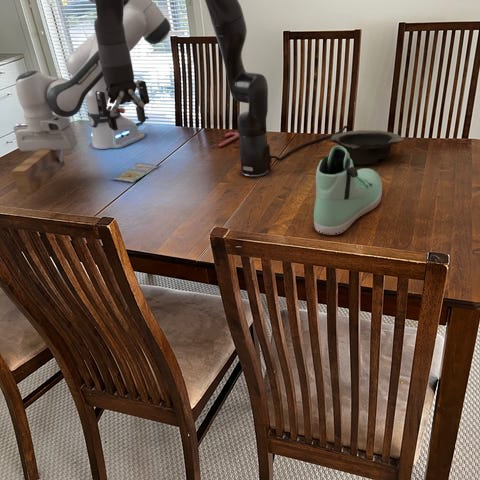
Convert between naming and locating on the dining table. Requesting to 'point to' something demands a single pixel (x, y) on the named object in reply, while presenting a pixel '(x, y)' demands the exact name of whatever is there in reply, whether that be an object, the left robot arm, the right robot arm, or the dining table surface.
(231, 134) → the candy cane
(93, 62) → the left robot arm
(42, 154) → the bar
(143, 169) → the baking ingredient package
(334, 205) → the sneaker
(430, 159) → the dining table surface
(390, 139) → the stone bowl
